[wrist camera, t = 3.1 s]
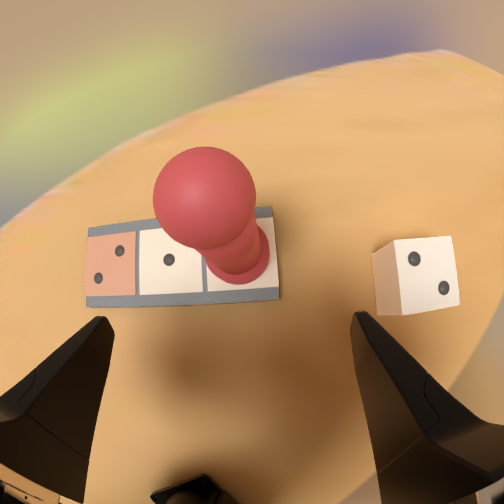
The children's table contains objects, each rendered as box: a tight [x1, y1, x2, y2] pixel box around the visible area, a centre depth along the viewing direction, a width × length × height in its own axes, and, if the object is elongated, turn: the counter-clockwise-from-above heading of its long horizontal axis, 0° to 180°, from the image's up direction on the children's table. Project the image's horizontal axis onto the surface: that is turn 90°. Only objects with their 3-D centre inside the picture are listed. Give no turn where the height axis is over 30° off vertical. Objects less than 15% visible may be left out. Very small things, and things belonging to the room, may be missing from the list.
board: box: [85, 206, 279, 308], centre depth 21 cm, size 15×6×1 cm, turn 94°
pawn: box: [153, 147, 270, 285], centre depth 14 cm, size 4×4×12 cm
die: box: [371, 236, 460, 316], centre depth 18 cm, size 4×4×5 cm
